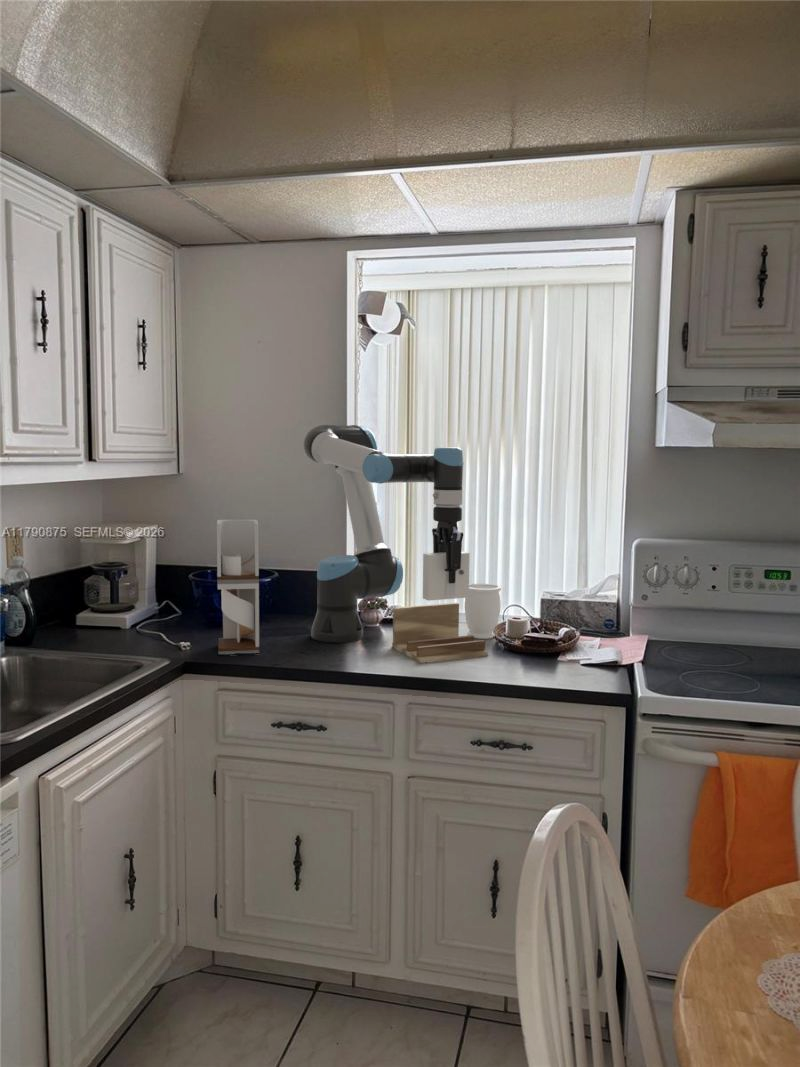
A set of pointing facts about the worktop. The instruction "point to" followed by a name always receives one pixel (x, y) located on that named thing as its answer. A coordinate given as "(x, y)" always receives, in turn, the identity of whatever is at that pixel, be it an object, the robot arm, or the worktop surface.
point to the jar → (482, 610)
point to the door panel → (436, 577)
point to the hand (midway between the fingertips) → (446, 593)
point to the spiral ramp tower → (238, 585)
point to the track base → (433, 633)
